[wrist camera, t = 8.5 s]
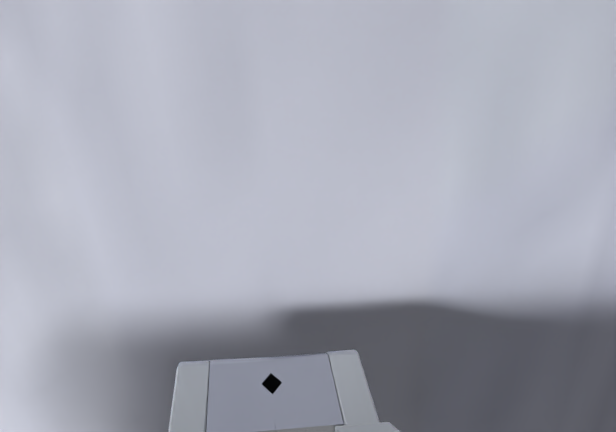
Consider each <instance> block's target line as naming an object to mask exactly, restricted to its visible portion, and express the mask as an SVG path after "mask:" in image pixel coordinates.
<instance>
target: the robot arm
mask: <svg viewBox="0 0 616 432" xmlns="http://www.w3.org/2000/svg"><path fill="white" fill-rule="evenodd" d="M168 432H401V431H400V430H398V429H397V428H396V427H395V426H393V425H392V424H391V423H390V422H380V421H379V418H378V414H377V411H376V408H375V405H374V401H373V398H372V395H371V392H370V388H369V385H368V382H367V379H366V376H365V372H364V369H363V366H362V363H361V359H360V356H359V353H358V352H357V351H356V350H355V349H354V350H343V351H332V352H327V353H314V354H301V355H288V356H275V357H259V358H238V359H217V360H211V361H187V362H180V363H179V365H178V367H177V370H176V378H175V385H174V393H173V400H172V407H171V415H170V422H169V430H168Z"/></svg>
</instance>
